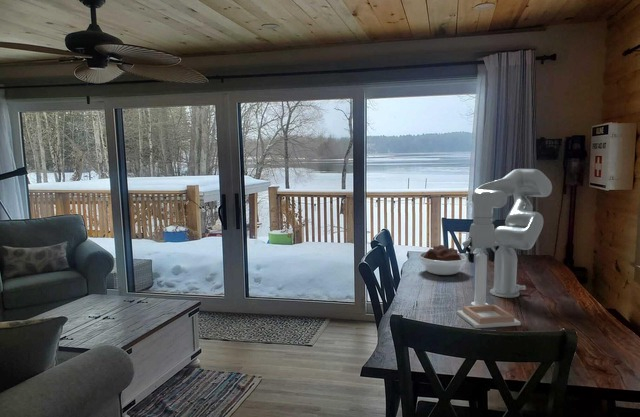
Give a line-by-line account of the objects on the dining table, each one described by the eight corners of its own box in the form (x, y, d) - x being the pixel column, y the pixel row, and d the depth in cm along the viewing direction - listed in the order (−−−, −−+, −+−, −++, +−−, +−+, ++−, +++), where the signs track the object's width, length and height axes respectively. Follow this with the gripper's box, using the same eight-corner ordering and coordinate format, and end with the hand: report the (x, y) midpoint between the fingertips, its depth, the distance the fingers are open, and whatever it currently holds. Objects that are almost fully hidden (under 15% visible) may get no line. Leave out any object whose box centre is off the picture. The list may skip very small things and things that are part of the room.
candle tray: (497, 310, 186) (498, 303, 185) (520, 325, 170) (520, 317, 170) (456, 313, 183) (456, 305, 183) (475, 328, 168) (476, 319, 167)
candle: (484, 302, 196) (486, 246, 193) (491, 308, 189) (493, 249, 186) (468, 302, 196) (470, 246, 193) (474, 308, 189) (476, 249, 186)
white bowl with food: (476, 276, 239) (477, 248, 237) (436, 281, 229) (437, 252, 228) (446, 265, 262) (447, 240, 260) (409, 270, 253) (410, 243, 251)
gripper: (497, 219, 193) (495, 258, 195) (459, 220, 191) (457, 260, 193) (507, 221, 186) (505, 262, 188) (467, 222, 183) (466, 264, 185)
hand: (481, 261), depth 190 cm, fingers open, 8 cm apart
